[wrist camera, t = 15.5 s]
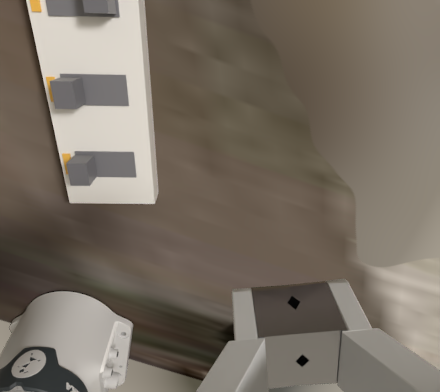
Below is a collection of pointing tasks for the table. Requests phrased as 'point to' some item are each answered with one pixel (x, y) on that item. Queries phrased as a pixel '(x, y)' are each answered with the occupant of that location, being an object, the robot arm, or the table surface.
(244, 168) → the table surface
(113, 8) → the switch
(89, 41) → the switch panel
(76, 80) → the switch
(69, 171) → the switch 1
